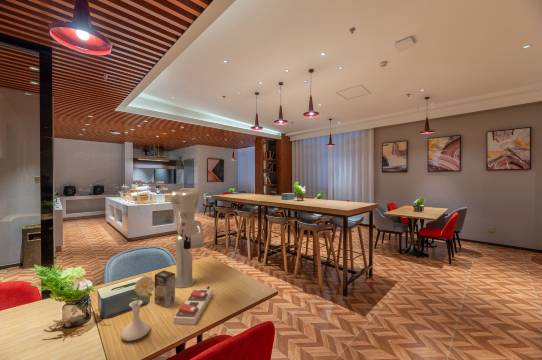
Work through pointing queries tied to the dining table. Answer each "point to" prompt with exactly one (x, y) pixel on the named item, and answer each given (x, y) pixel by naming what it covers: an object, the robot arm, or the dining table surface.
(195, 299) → the power strip
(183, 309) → the near rocker
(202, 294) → the far rocker
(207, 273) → the dining table surface
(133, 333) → the flower in vase
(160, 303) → the coffee box
